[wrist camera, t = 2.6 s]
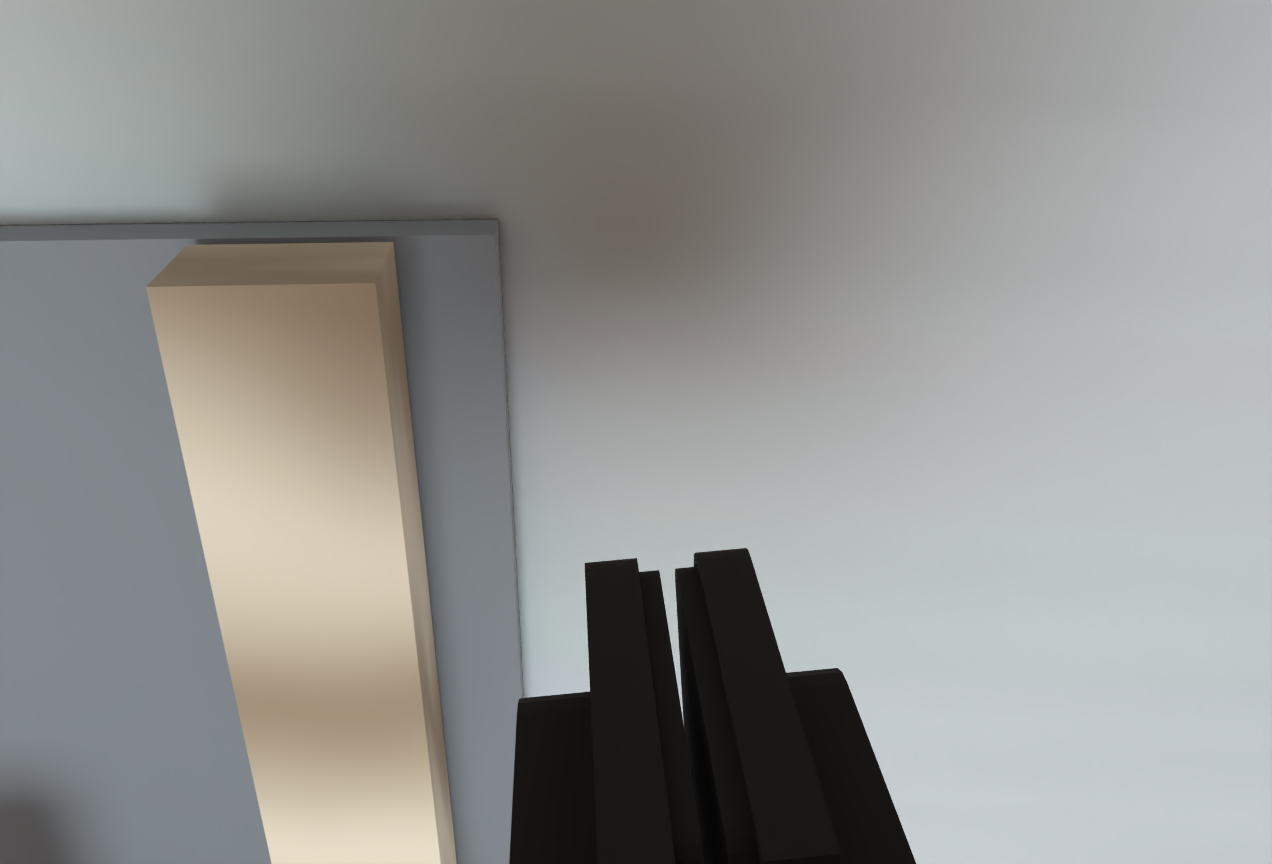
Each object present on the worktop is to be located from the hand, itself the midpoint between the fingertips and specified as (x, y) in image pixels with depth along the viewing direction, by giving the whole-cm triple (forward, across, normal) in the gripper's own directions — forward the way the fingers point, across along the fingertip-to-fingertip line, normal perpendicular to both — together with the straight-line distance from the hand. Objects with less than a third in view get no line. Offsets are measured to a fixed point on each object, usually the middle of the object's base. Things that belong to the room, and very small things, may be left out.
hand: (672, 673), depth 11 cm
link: (+7, +6, +6) cm, 11 cm away
